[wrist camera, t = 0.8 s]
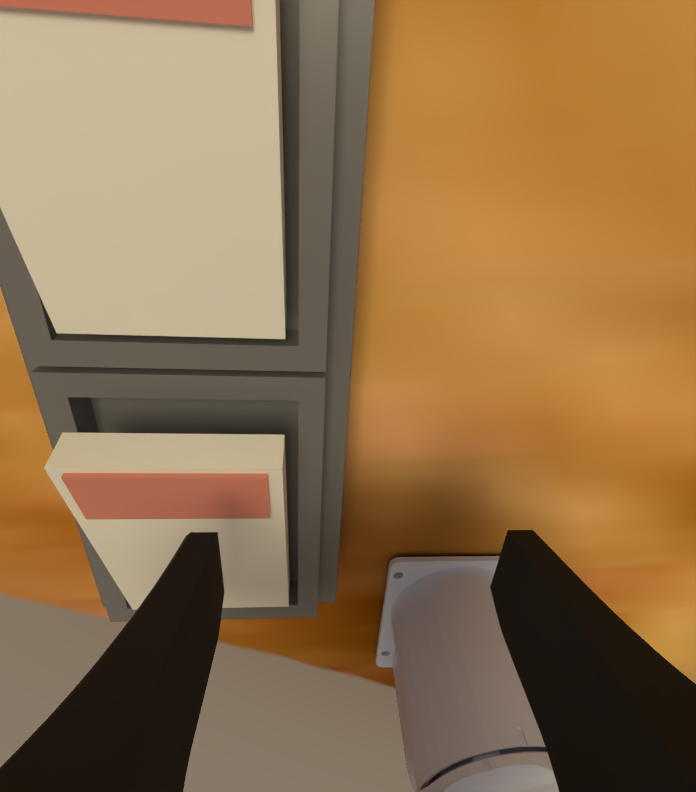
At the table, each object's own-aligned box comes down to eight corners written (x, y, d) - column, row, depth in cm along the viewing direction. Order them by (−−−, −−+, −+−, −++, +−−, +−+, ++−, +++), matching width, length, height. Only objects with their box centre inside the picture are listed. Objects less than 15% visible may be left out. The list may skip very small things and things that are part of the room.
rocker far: (289, 577, 20) (288, 610, 19) (141, 579, 19) (131, 613, 18) (284, 434, 13) (281, 473, 12) (62, 432, 13) (41, 472, 12)
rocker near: (287, 313, 14) (285, 342, 13) (73, 307, 13) (54, 336, 12) (275, -158, 8) (269, -171, 7) (-130, -202, 7) (-201, -224, 6)
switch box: (332, 541, 24) (336, 627, 20) (130, 543, 23) (92, 632, 19) (370, -134, 12) (398, -265, 8) (-51, -180, 11) (-260, -351, 7)
